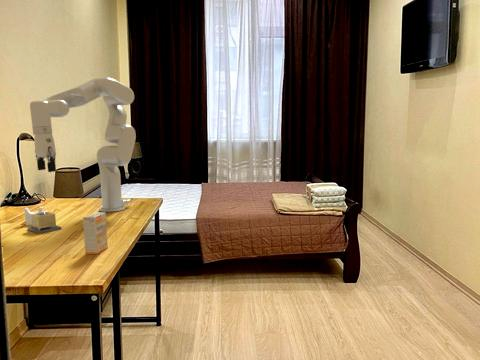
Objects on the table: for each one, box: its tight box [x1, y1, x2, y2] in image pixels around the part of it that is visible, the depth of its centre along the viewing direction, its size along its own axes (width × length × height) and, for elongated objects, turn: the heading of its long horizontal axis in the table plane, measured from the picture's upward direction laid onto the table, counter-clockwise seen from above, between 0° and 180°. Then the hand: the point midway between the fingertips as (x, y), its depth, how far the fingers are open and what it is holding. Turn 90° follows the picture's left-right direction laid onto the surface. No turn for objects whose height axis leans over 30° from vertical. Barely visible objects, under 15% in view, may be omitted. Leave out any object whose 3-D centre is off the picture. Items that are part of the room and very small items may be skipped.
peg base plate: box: [27, 212, 62, 235], centre depth 202 cm, size 10×10×7 cm
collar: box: [31, 211, 57, 229], centre depth 202 cm, size 7×7×5 cm
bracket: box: [23, 206, 49, 226], centre depth 218 cm, size 13×7×8 cm, turn 11°
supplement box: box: [82, 211, 109, 255], centre depth 168 cm, size 8×5×13 cm, turn 170°
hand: (46, 170), depth 207 cm, fingers open, 9 cm apart
